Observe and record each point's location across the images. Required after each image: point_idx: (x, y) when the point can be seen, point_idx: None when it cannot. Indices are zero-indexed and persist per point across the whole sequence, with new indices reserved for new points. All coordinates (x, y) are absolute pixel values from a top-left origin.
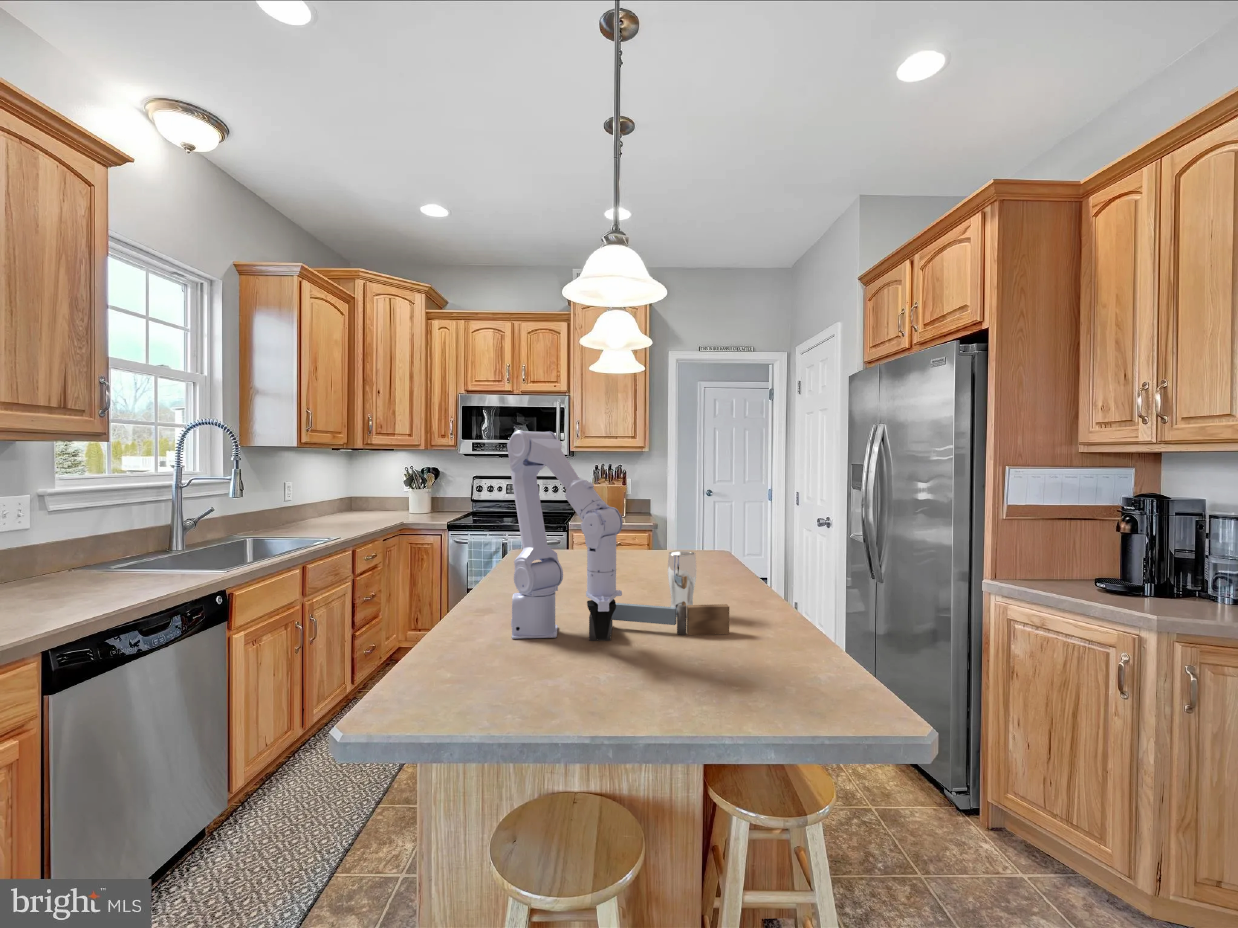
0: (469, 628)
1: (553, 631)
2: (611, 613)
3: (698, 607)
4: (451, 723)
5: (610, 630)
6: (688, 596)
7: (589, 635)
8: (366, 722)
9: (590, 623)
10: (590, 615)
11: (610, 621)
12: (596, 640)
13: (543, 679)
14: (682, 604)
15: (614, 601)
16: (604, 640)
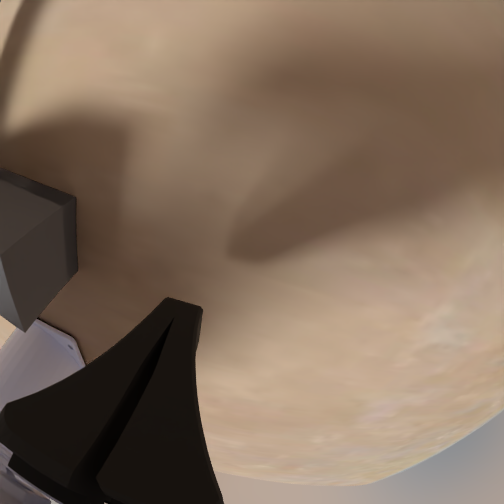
0: None
1: (50, 337)
2: (209, 465)
3: None
4: (408, 461)
5: (46, 218)
6: None
7: (67, 280)
8: (355, 483)
9: (39, 308)
10: (11, 320)
11: (16, 242)
12: (76, 248)
13: (357, 420)
14: None
15: (63, 485)
16: (75, 221)
